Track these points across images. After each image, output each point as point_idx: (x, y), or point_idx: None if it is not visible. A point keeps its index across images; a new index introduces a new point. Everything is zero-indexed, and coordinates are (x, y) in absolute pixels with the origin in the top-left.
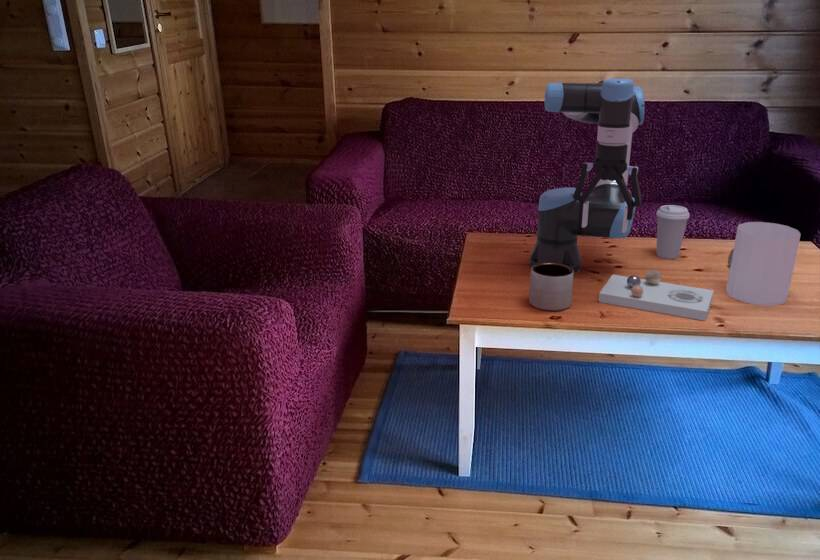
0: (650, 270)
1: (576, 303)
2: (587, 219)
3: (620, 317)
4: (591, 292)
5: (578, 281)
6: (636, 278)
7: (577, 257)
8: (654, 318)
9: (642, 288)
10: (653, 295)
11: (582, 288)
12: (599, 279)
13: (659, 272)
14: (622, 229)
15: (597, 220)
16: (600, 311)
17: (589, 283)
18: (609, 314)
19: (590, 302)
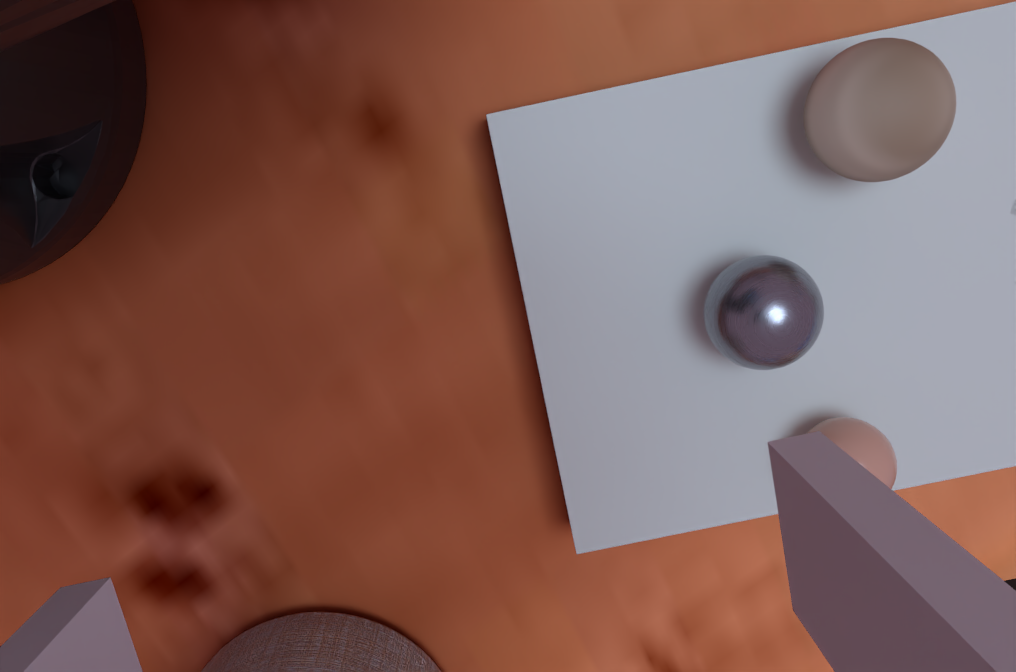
0: (877, 125)
1: (462, 628)
2: (56, 637)
3: (783, 651)
4: (451, 398)
5: (263, 257)
6: (806, 342)
7: (57, 36)
8: (967, 540)
9: (895, 464)
10: (928, 352)
11: (361, 369)
12: (371, 108)
13: (951, 87)
14: (820, 640)
15: (19, 1)
16: (645, 645)
17: (351, 242)
18: (710, 652)
19: (529, 559)
